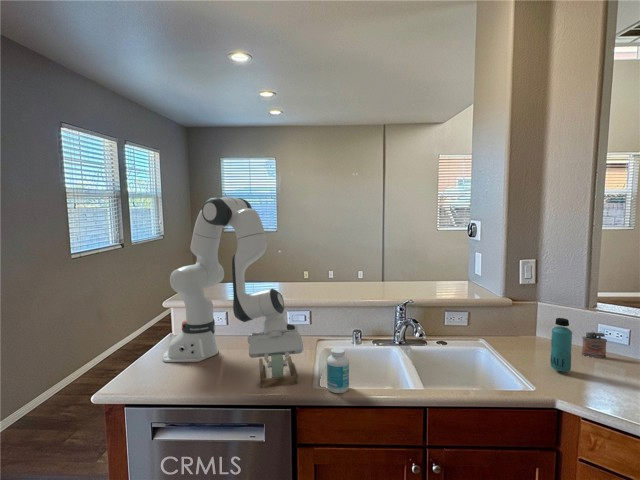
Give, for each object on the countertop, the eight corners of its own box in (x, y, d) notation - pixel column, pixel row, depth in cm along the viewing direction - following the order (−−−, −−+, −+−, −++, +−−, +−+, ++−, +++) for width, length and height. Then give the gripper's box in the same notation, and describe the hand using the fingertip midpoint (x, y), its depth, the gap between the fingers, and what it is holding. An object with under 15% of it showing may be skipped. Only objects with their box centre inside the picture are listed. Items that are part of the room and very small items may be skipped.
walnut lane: (261, 387, 123) (260, 380, 123) (259, 364, 142) (259, 358, 142) (296, 383, 126) (296, 376, 125) (290, 361, 144) (290, 355, 144)
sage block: (272, 380, 128) (272, 359, 127) (271, 375, 132) (271, 354, 131) (283, 379, 129) (283, 358, 128) (282, 374, 133) (282, 353, 132)
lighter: (583, 356, 145) (584, 332, 145) (580, 353, 148) (581, 329, 148) (607, 359, 142) (608, 334, 142) (604, 356, 145) (605, 332, 145)
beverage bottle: (567, 369, 134) (569, 316, 132) (573, 377, 127) (576, 322, 126) (547, 367, 136) (549, 315, 134) (552, 374, 130) (554, 320, 128)
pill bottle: (347, 395, 117) (347, 355, 116) (325, 393, 119) (324, 353, 118) (350, 384, 124) (349, 346, 123) (329, 382, 126) (328, 345, 125)
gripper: (247, 329, 134) (248, 365, 125) (301, 325, 138) (305, 360, 129) (247, 337, 139) (248, 372, 130) (300, 333, 143) (304, 367, 134)
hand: (277, 366), depth 129 cm, fingers closed on sage block, 4 cm apart
